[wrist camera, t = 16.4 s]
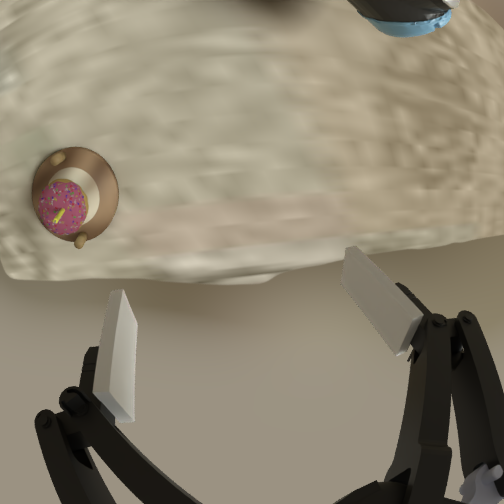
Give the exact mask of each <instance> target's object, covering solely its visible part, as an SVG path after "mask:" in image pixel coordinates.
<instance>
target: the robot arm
mask: <svg viewBox="0 0 504 504" xmlns="http://www.w3.org/2000/svg"><path fill="white" fill-rule="evenodd" d="M347 1H348V2H349V3H350V4H352V5H353V6H354V7H355V8H356V9H357V12H358V13H359V14H360V15H361V16H362V17H364V18H365V19H367V20H368V21H369V22H370V23H371V24H372V25H373V26H375V27H376V28H377V29H378V30H379V31H381V32H383V33H384V34H387V35H389V36H394V37H414V36H419V35H424V34H427V33H430V32H433V31H434V30H435V28H441V27H443V26H444V25H445V24H447V23H448V21H449V20H450V18H451V9H454V8H457V7H458V6H459V2H460V0H347ZM341 285H342V286H343V287H344V288H345V290H346V291H347V292H348V294H349V295H350V296H351V298H352V299H353V300H354V301H355V303H356V304H357V305H358V307H359V308H360V309H361V310H362V312H363V313H364V314H365V316H366V317H367V318H368V319H369V321H370V322H371V323H372V325H373V326H374V327H375V329H376V330H377V331H378V333H379V334H380V335H381V337H382V338H383V339H384V341H385V342H386V343H387V345H388V346H389V347H390V349H391V350H392V351H393V353H394V354H395V356H398V355H400V354H402V353H404V352H406V351H407V350H408V348H409V346H410V344H411V345H412V347H413V350H412V352H411V354H410V356H409V358H408V360H407V361H408V362H409V361H410V359H411V366H410V375H409V384H408V391H407V397H406V404H405V410H404V415H403V421H402V425H401V430H400V435H399V439H398V444H397V448H396V452H395V457H394V460H393V463H392V465H391V466H390V468H389V470H388V472H387V474H386V476H385V479H384V482H377V480H376V481H374V482H372V483H370V484H368V485H366V486H363V487H361V488H359V489H357V490H355V491H353V492H351V493H350V494H348V495H346V496H344V497H343V498H341V499H339V500H338V501H336V502H335V503H333V504H497V503H499V501H501V500H502V499H504V393H503V389H502V386H501V382H500V379H499V376H498V373H497V370H496V367H495V364H494V361H493V358H492V356H491V353H490V350H489V347H488V345H487V342H486V340H485V337H484V335H483V332H482V330H481V327H480V325H479V323H478V321H477V318H476V317H475V315H474V314H472V313H471V312H469V311H465V310H464V311H461V312H459V314H458V316H457V318H452V319H446V317H444V316H443V315H440V314H432V313H431V312H430V311H429V310H428V309H427V308H426V307H425V306H424V305H423V304H422V303H421V302H420V300H419V299H418V298H416V297H415V295H414V294H412V292H411V291H410V290H409V289H408V288H407V287H406V286H404V285H402V284H400V283H395V284H394V283H393V282H392V281H391V279H389V277H387V275H385V273H384V272H383V271H382V270H380V268H379V267H378V266H376V265H375V264H374V263H373V262H372V261H371V260H370V259H369V258H368V257H367V256H366V255H365V254H364V253H363V252H362V251H361V250H360V249H359V248H358V247H357V246H353V247H348V248H346V250H345V257H344V265H343V271H342V278H341ZM137 327H138V324H137V321H136V319H135V317H134V314H133V312H132V310H131V307H130V305H129V302H128V300H127V297H126V295H125V292H124V290H123V289H119V290H113V291H111V293H110V297H109V301H108V305H107V310H106V315H105V319H104V324H103V329H102V334H101V339H100V345H99V346H96V347H89V349H88V351H87V352H86V354H85V356H84V361H83V367H82V373H81V378H80V384H79V387H76V386H72V387H68V388H66V389H65V390H64V391H63V392H62V393H61V395H60V397H59V404H60V407H61V408H62V409H63V410H64V411H63V412H60V413H57V414H54V413H53V412H52V411H51V410H47V409H45V410H42V411H40V412H39V413H38V414H37V416H36V418H35V429H36V433H37V436H38V440H39V444H40V447H41V450H42V454H43V457H44V460H45V463H46V466H47V469H48V471H49V474H50V477H51V479H52V482H53V484H54V487H55V490H56V492H57V494H58V497H59V499H60V501H61V503H62V504H116V503H115V501H114V499H113V497H112V495H111V494H110V492H109V490H108V488H107V486H106V485H105V483H104V481H103V479H102V477H101V475H100V473H99V471H98V469H97V467H96V466H95V463H94V461H93V459H92V457H91V455H90V452H89V450H88V448H87V447H90V446H92V447H93V448H94V450H95V451H96V452H97V454H98V455H99V456H100V457H101V459H102V460H103V461H104V462H105V463H106V464H107V466H108V467H109V468H110V469H111V470H112V471H113V472H114V474H115V475H116V476H117V477H118V478H119V479H120V480H121V481H122V482H123V483H124V484H125V486H126V487H127V488H128V489H129V490H130V491H131V492H132V493H133V494H134V495H135V496H136V497H138V499H139V500H141V501H142V502H143V503H144V504H202V503H201V502H199V501H198V500H196V499H195V498H194V497H193V496H191V495H190V494H188V493H187V492H186V491H185V490H184V489H182V488H181V487H180V486H178V485H177V484H176V483H175V482H174V481H172V480H171V479H170V478H169V477H168V476H167V475H165V474H164V473H163V472H162V471H161V470H160V469H159V468H157V467H156V466H155V465H154V464H153V463H152V462H151V461H150V460H149V459H148V458H147V457H146V456H144V455H143V454H142V453H141V452H140V451H139V450H138V449H137V448H136V447H135V446H134V445H133V444H132V443H131V442H130V441H129V440H128V438H127V437H126V436H125V435H124V434H123V433H122V432H121V431H120V430H119V429H118V428H117V427H116V426H115V418H116V419H117V420H118V421H119V422H120V423H125V422H135V412H134V411H135V410H134V409H135V406H134V404H135V401H134V400H135V399H134V398H135V397H134V396H135V359H136V341H137ZM463 348H464V350H463ZM451 394H452V399H453V405H454V410H455V416H456V423H457V429H458V437H459V446H460V457H461V465H462V471H463V475H464V478H465V481H464V483H463V485H461V487H460V490H459V492H460V494H461V495H463V498H462V501H461V502H460V501H455V500H452V499H448V498H444V494H445V490H446V486H447V481H448V476H449V470H450V465H451V458H452V449H451V448H450V447H448V445H447V440H448V431H449V419H450V407H451Z"/></svg>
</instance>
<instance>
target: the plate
mask: <svg viewBox="0 0 504 504" xmlns="http://www.w3.org/2000/svg"><path fill="white" fill-rule="evenodd" d="M56 179H69V180H71V181H73V182H74V183H76V184H78V185H79V186H80V187H81V188H82V189H83V191H84V193H85V194H86V195H87V198H88V205H89V209H88V214H87V217H86V219H85V221H84V223H83V224H82V225H81V227H80V228H79V229H78V231H76V232H75V233H71V234H67V235H66V234H65V235H59V234H56V233H54V232H53V231H51V230H49V229H48V228H47V227H46V225H44V223H43V221H42V219H41V218H40V215H39V211H38V210H39V209H38V201H39V197H40V195H41V193H42V190H43V189H44V188H45V187H46V186H47V185H49V184H50V183H51V182H52V181H54V180H56ZM32 199H33V205H34V209H35V211H36V214H37V216H38V218H39V220H40V221H41V223H42V224H43V225H44V227H45V228H46V229H47V230H48V231H49V232H51V233H52V234H53V235H55V236H57V237H58V238H61V239H63V240H66V241H71V242H74V245H75V247H76V248H78V249H81V248H82V247H83V245H84V243H85V241H87V240H91V239H93V238H95V237H97V236H98V235H100V234H101V233H102V232H103V231H104V230H105V229H106V228H107V227H108V225H109V224H110V223H111V221H112V219H113V217H114V215H115V212H116V209H117V206H118V199H119V189H118V183H117V180H116V177H115V174H114V172H113V170H112V169H111V167H110V165H109V164H108V163H107V162H106V161H105V159H104V158H103V157H101V156H100V155H99V154H97V153H96V152H94V151H92V150H89V149H87V148H82V147H69V148H65V149H62V150H60V151H58V152H56V153H54V154H52V155H51V156H49V157H48V158H47V159H46V160H45V161H44V162H43V163H42V164H41V166H40V167H39V169H38V171H37V173H36V175H35V178H34V182H33V187H32Z"/></svg>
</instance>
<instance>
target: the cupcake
mask: <svg viewBox="0 0 504 504" xmlns="http://www.w3.org/2000/svg"><path fill="white" fill-rule="evenodd" d="M38 209H39V210H38V211H39V215H40V218H41V219H42V221H43V223H44V225H46V227H47V228H48V229H49V230H51V231H53V232H54V233H56V234H59V235H65V234H66V235H67V234H71V233H75V232H76V231H78V229H79V228H80V227H81V225H82V224H83V223H84V221H85V219H86V217H87V214H88V209H89V205H88V198H87V195H86V194H85V193H84V191H83V189H82V188H81V187H80V186H79V185H78V184H76V183H74V182H73V181H71V180H69V179H56V180H54V181H52V182H51V183H50V184H49V185H47V186H46V187H45V188H44V189H43V190H42V193H41V195H40V197H39V201H38Z"/></svg>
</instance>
